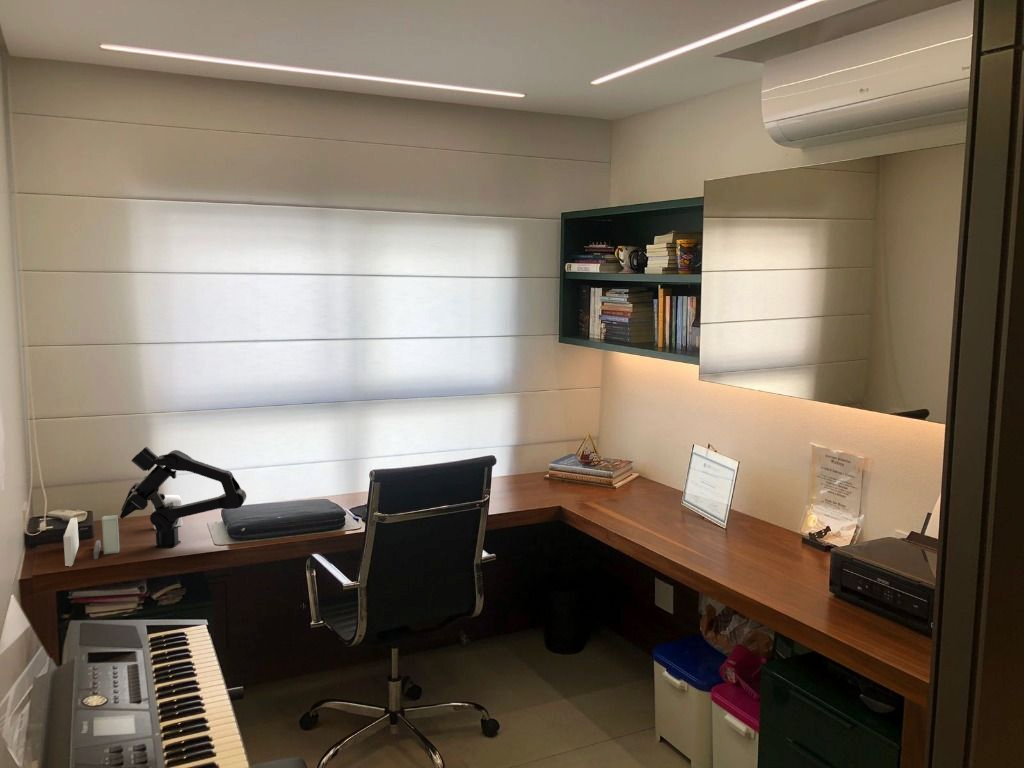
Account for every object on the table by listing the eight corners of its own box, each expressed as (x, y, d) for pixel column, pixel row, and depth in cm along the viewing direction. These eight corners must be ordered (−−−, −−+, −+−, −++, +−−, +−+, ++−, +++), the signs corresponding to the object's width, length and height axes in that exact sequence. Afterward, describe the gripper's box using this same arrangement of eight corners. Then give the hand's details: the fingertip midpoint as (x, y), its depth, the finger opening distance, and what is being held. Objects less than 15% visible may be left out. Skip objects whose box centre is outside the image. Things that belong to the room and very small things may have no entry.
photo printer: (181, 523, 318) (179, 492, 317) (183, 526, 315) (182, 494, 313) (152, 527, 312) (151, 495, 311) (154, 530, 309) (153, 498, 307)
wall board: (101, 542, 294) (100, 515, 293) (96, 563, 272) (95, 533, 271) (72, 545, 290) (70, 518, 289) (65, 566, 268) (63, 536, 267)
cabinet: (119, 548, 287) (117, 515, 286) (118, 552, 283) (116, 518, 281) (104, 550, 286) (102, 516, 284) (103, 554, 281) (101, 520, 280)
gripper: (173, 500, 282) (139, 535, 279) (173, 488, 299) (141, 521, 296) (146, 480, 278) (112, 515, 275) (148, 469, 295) (115, 502, 292)
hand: (121, 514), depth 285 cm, fingers open, 9 cm apart
